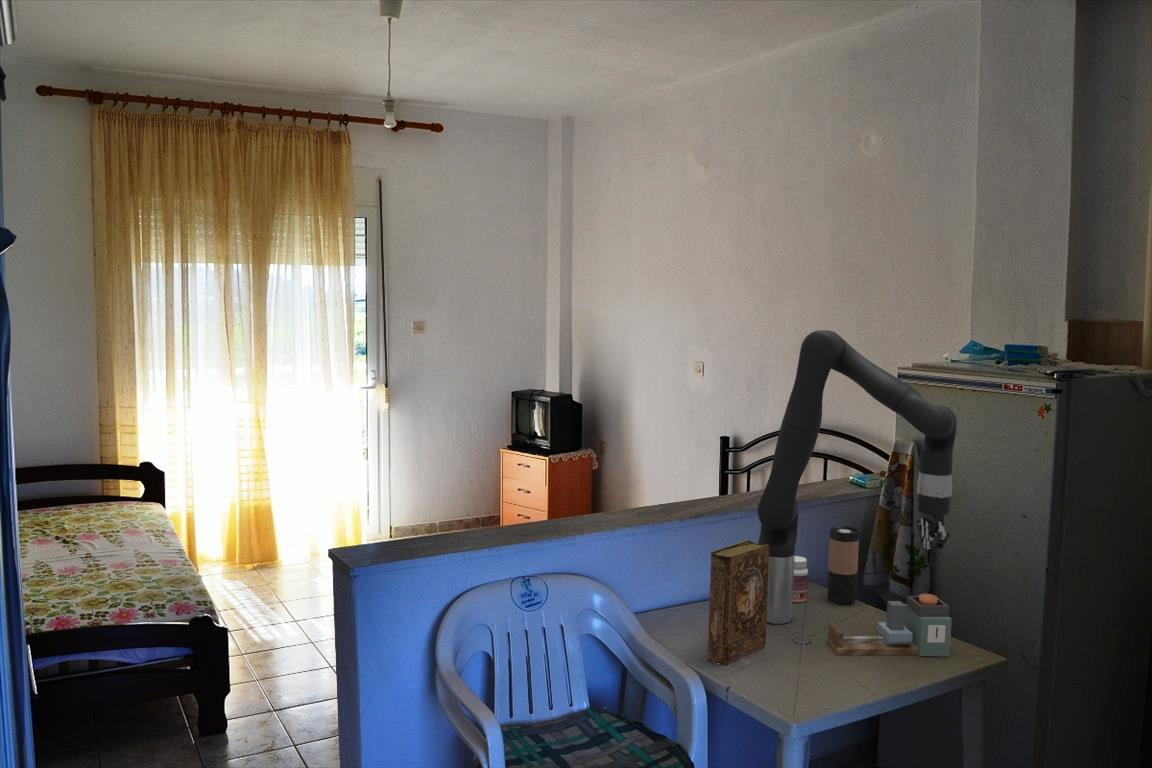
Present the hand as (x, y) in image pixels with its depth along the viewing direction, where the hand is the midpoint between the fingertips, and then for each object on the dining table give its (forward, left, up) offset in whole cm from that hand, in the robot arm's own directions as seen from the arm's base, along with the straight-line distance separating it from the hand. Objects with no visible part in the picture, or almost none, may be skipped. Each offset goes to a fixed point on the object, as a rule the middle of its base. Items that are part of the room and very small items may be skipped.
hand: (930, 564), depth 213 cm
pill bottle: (-21, +34, -21) cm, 45 cm away
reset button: (0, 0, -10) cm, 10 cm away
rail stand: (-13, 0, -20) cm, 24 cm away
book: (-46, -2, -21) cm, 50 cm away
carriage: (-8, 0, -19) cm, 20 cm away
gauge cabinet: (0, 0, -20) cm, 20 cm away
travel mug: (-9, +32, -21) cm, 39 cm away
